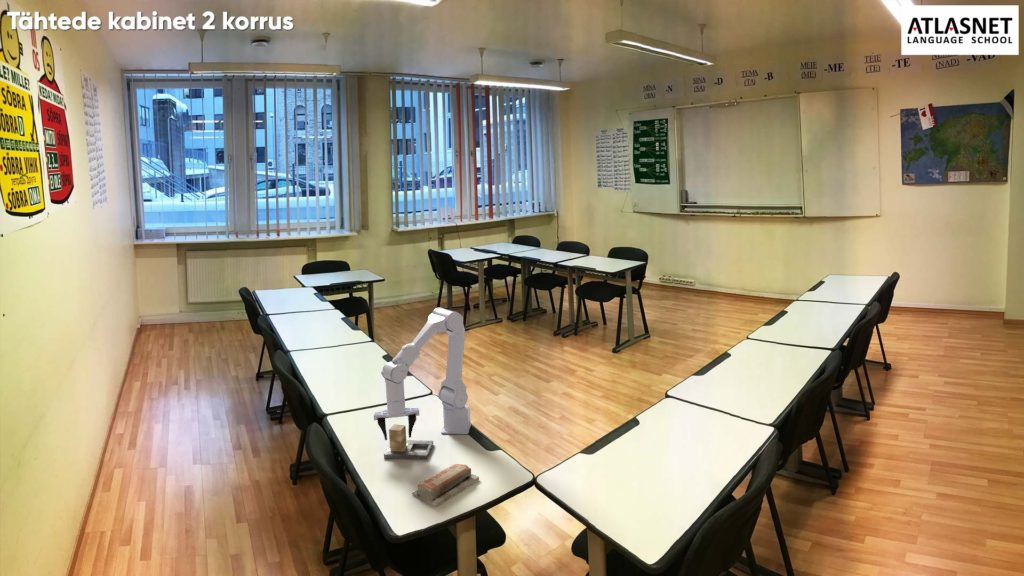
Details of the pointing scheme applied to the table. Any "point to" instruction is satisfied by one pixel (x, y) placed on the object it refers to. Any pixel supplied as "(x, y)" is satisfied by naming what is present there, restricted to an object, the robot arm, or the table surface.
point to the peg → (397, 437)
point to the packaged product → (445, 484)
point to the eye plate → (410, 450)
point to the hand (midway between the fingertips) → (397, 437)
